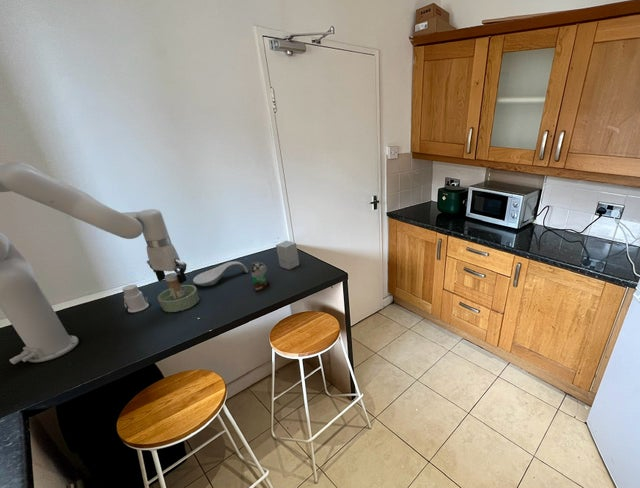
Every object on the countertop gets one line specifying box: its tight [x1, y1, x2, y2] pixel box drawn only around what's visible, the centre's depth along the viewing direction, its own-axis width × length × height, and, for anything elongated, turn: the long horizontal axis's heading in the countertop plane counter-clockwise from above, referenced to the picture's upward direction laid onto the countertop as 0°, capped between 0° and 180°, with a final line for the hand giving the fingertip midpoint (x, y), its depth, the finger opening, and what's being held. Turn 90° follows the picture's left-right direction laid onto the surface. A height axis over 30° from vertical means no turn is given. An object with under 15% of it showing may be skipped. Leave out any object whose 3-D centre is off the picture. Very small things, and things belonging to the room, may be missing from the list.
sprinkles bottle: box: [164, 272, 185, 300], centre depth 130 cm, size 5×5×13 cm
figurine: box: [250, 261, 268, 292], centre depth 145 cm, size 12×6×10 cm, turn 22°
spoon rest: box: [192, 261, 249, 287], centre depth 151 cm, size 24×12×7 cm, turn 135°
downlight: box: [122, 284, 150, 313], centre depth 128 cm, size 8×7×10 cm
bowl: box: [157, 284, 201, 313], centre depth 132 cm, size 14×14×6 cm
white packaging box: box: [275, 240, 300, 270], centre depth 164 cm, size 7×7×13 cm
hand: (172, 281), depth 128 cm, fingers open, 9 cm apart
